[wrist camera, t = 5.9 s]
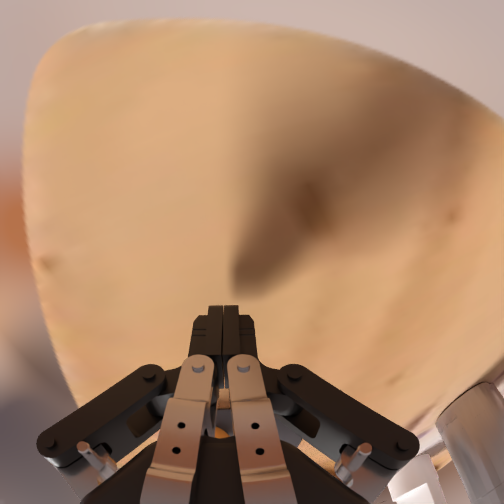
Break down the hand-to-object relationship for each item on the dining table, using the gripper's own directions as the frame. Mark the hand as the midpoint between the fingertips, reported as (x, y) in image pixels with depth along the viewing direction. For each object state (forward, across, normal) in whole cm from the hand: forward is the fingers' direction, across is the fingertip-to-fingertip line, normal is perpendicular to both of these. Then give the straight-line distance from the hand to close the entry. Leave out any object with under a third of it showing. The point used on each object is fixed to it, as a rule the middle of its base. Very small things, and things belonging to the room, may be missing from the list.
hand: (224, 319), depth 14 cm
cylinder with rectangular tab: (+2, -30, +40) cm, 50 cm away
